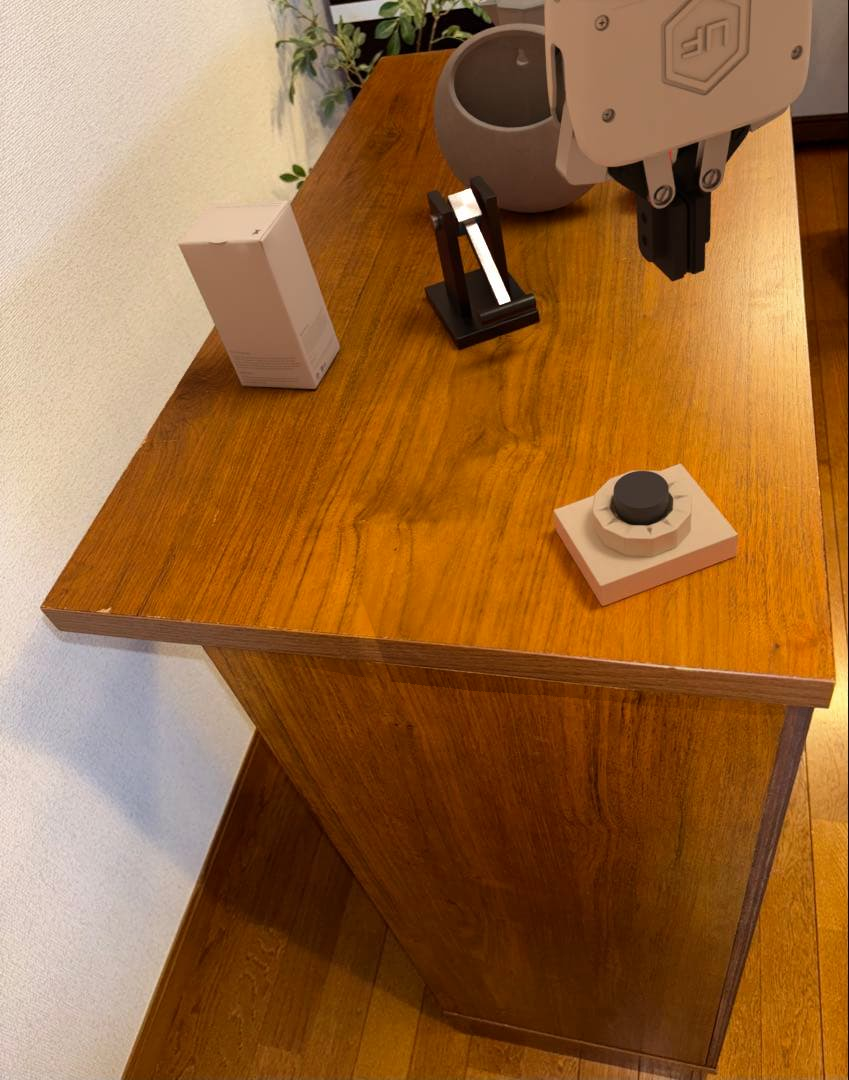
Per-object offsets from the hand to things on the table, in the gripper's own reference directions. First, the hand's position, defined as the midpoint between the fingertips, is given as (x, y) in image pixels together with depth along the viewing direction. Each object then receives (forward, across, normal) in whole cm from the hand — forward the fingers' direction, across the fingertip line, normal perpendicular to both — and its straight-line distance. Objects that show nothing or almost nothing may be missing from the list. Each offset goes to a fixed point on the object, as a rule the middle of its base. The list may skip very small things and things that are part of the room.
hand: (673, 263), depth 48 cm
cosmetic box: (+25, -19, +40) cm, 51 cm away
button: (+21, 0, +5) cm, 22 cm away
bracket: (+25, 0, +39) cm, 46 cm away
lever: (+19, 0, +36) cm, 40 cm away
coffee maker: (+25, +21, +71) cm, 78 cm away
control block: (+25, 0, +5) cm, 26 cm away
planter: (+25, +11, +53) cm, 60 cm away
